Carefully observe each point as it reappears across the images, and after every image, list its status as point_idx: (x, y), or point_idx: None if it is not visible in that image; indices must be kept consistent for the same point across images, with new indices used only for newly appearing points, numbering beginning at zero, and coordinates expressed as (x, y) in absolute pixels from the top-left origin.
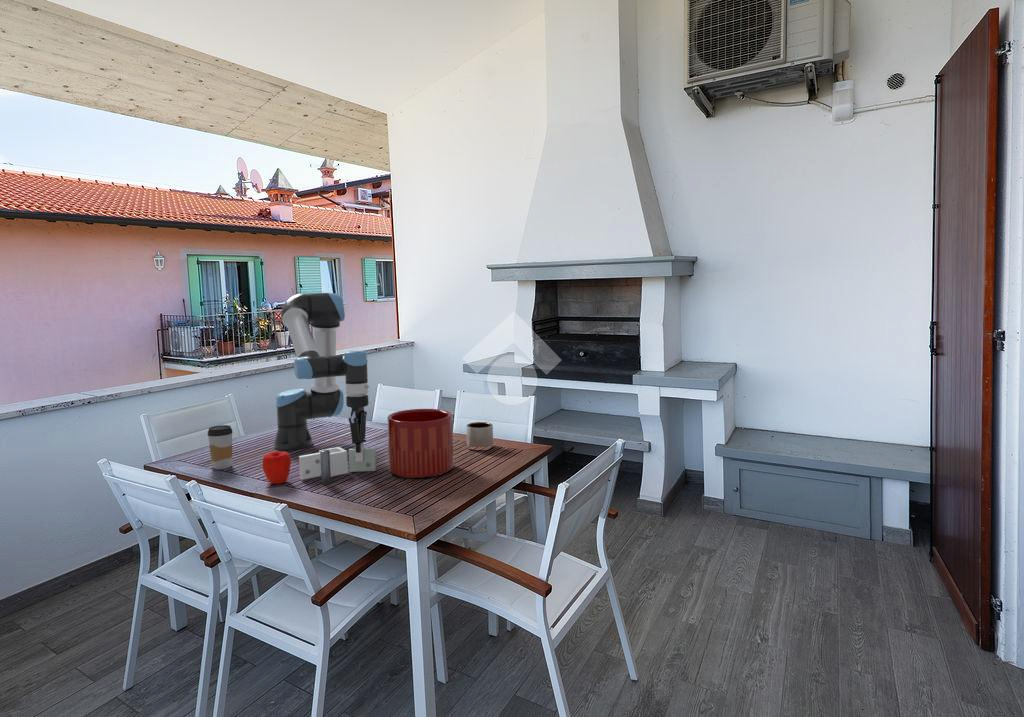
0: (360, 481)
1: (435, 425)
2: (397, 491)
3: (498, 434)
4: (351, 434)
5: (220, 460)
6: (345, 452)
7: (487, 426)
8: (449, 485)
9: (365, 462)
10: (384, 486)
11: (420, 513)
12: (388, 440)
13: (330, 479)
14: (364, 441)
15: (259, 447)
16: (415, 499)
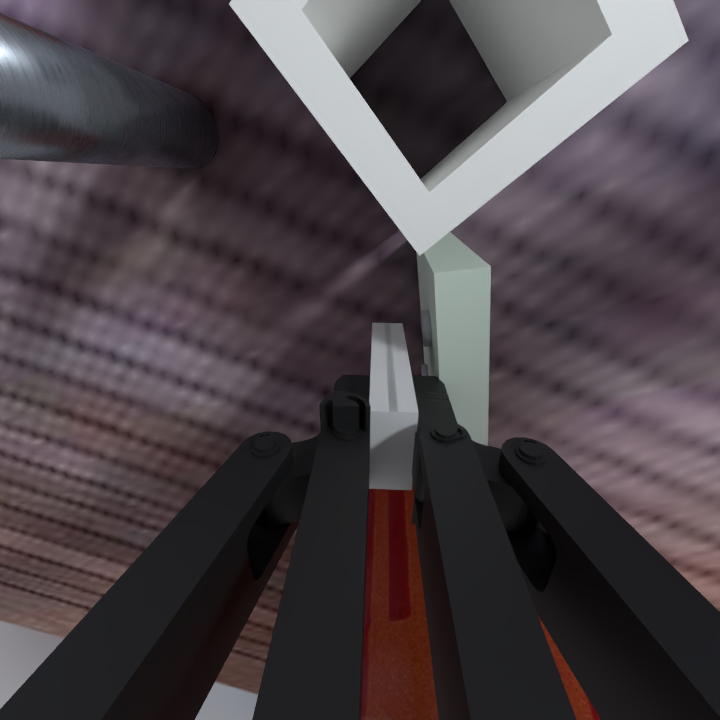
0: (249, 353)
1: None
2: (159, 520)
3: None
4: (145, 553)
5: None
6: (406, 238)
7: None
8: (259, 635)
9: (427, 369)
10: (202, 471)
11: (8, 590)
12: (386, 681)
13: (180, 167)
14: (413, 508)
15: None
16: (105, 572)
